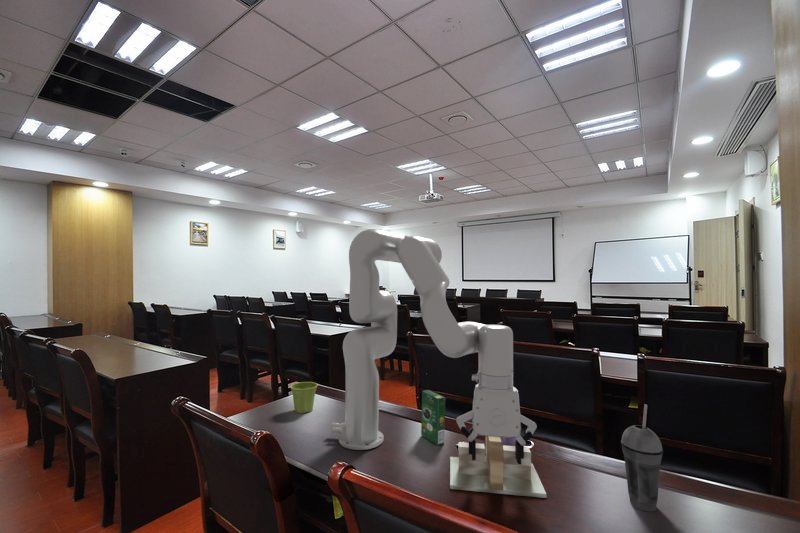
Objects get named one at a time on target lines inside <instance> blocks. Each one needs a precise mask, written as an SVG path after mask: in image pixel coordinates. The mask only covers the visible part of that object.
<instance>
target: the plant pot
mask: <svg viewBox="0 0 800 533" xmlns="http://www.w3.org/2000/svg"><path fill="white" fill-rule="evenodd" d="M318 386H319V384H318V383H316V382H313V381H301V382H296V383H293V384H291V385H290V386H289V388H290V389H291V393H292V398H293V408H294V412H295V413H297V414H305V413H310V412H312V411H313V410H314V403H315V401H314V400H315V396H316V391H317V388H318Z"/></svg>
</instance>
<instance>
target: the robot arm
mask: <svg viewBox="0 0 800 533" xmlns="http://www.w3.org/2000/svg"><path fill="white" fill-rule="evenodd" d="M442 257H443V256H442V249H441V247H440V245H439V244H438V243H437V242H436V241H435V240H433V239H431V238H426V237H421V236H417V235H410V236H409V235H404V234H399V233H396V232H389V231H386V230H382V229H376V228H375V229H374V228H373V229H372V228H370V229H365V230H362V231H360V232H358V233H357V234H356V235H355V236H354V238H353V239H352V241H351V243H350V246H349V250H348V265H349V274H350V277H349V278H350V279H349V298H348V300H349V301H348V303H349V304H348V309H349V310H348V311H349V312H348V313H349V316H350V318H351V320H352V321H353V322H355V323H357V324H358V323H359V324H370V326H365V327H359V328H354V329H353V330H351V331H349V332H348V333H346V335H345V337H344V339H343V342H342V351H343V359H344V365H345V395H344V396H345V397H344V399H345V401H344V422H343V421H342V422H341V423H338V422H330V423H331V424H330V430H331V432H332V433H334V434H336V433H339V434H340V435H339V437H338V443H339V444H340V445H341V446H342V447H343V448H345V449H348V450H353V451H354V450H355V451H363V450H364V451H365V450H371V449H374V448H377V447H379V446H380V445H382V444H383V443H384V438H385V436H384V434H383V432H381V431H380V430H379V418H380V417H379V413H380V412H379V408H380V407H379V406H380V405H379V404H380V376H379V374H380V373H379V370H378V368H377V365H376V361H375V360H377V359H380V358H384V357H388V356H389V355H391V354H392V353H393V352H394V350H395V348H396V346H397V345H396V344H397V339H398V338H397V337H398V305H397V301H396V299H395V297H394V295H393V294H392V293H391V292H390V291H387V290H383V289H380V272H379V269H378V267H377V263H375V262H376V261H384V262H392V263H398V264H401V266H402V268H403V269H404V271H405V273H406V274H407V276H408V278H409V280H410V281H411V283H412V285H413V286H414V289H415V291H416V292H417V294H418V295H419V299H420V303H419V306H420V311H421V318H422V321H423V325H424V327H425V328H426V331H427V333H428V334H429V336H430V338H431V340H432V341H433V343H434V345H435V346H436V348H438V350H439V351H440V352H441V353H442V354H443V355H444V356H446V357H448V358H453V359H458V358H461V357H463V356H466V355H470V354H475V353H478V370H477V373H475V374H471V381H474V382H476V383H477V384H475V387H474V390H473V399H472V410H470V411H467V412H465V413H464V414H460V415H459V416H457V417H456V420H455V421H456V423H457V426H458V428H459V430H460V432H461V433H462V434H463V436H464V437H465V438H467V441H468V443H469V454H471V455H472V460H474V461H475V460H476V443H477V442H476V438H477V436H483V437H485V436H493V437H507V438H516V439H517V440H516V441H515V458H516V461H517V463H518V464H521V459H524V447H525V446H526V445H527V444H526V443H527V442H529V440H530V439H532V437H533V434H534V433H535V431H536V430H537V428H538V427H537V426H538V425H537V423H536V422H535V421H533V420H532V419H530V418H528V417H526V416H524V415H522V414H521V409H520V408H521V407H520V406H521V405H520V396H519V397H518V393H519V391H518V392H517V390H518V389H517V388H516V387H515V386H514V332H513V329H512V328H511V327H510V326H507V325H502V324H484V323H479V322H475V321H467V320H466V321H462V322H457V320H456V318H455V316H454V315H453V313H452V312H451V310H450V308H449V306H448V303H447V299H446V293H447V291H448V290H447V289H448V287H449V286H450V278H449V277H448V275H447V274H446V272H445V271H444V269H443V267H442V266H441V265H440V264H441V260H442ZM469 420H472V427H471V428H468V427H467V426H466V425H465V422H468V421H469ZM521 423H522V424H523V425H525V426H527V429H526V430H524V432H522V424H521ZM521 432H522V433H521Z"/></svg>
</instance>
